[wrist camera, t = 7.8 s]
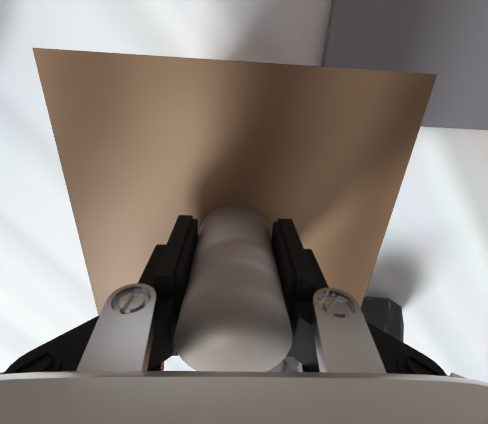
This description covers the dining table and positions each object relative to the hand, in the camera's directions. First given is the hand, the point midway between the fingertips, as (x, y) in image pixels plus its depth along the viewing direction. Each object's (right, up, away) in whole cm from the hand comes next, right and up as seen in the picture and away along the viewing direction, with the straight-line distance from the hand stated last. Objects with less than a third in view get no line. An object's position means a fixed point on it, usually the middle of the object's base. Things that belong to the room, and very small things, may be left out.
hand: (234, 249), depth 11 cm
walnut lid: (0, +1, +2) cm, 2 cm away
